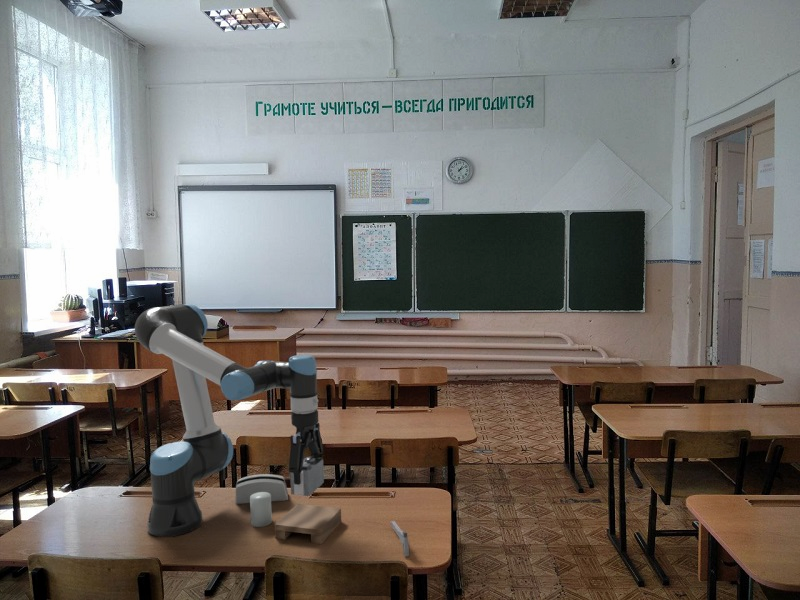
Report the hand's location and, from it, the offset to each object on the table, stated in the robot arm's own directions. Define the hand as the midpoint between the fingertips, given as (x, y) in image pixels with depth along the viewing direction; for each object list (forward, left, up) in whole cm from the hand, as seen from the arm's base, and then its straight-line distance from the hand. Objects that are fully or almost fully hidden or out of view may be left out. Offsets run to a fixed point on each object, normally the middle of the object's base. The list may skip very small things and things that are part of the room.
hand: (307, 487), depth 170 cm
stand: (0, 0, -13) cm, 13 cm away
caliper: (+26, +1, -13) cm, 30 cm away
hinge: (-24, +15, -13) cm, 31 cm away
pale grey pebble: (-16, +1, -13) cm, 21 cm away
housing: (0, 0, 0) cm, 0 cm away
